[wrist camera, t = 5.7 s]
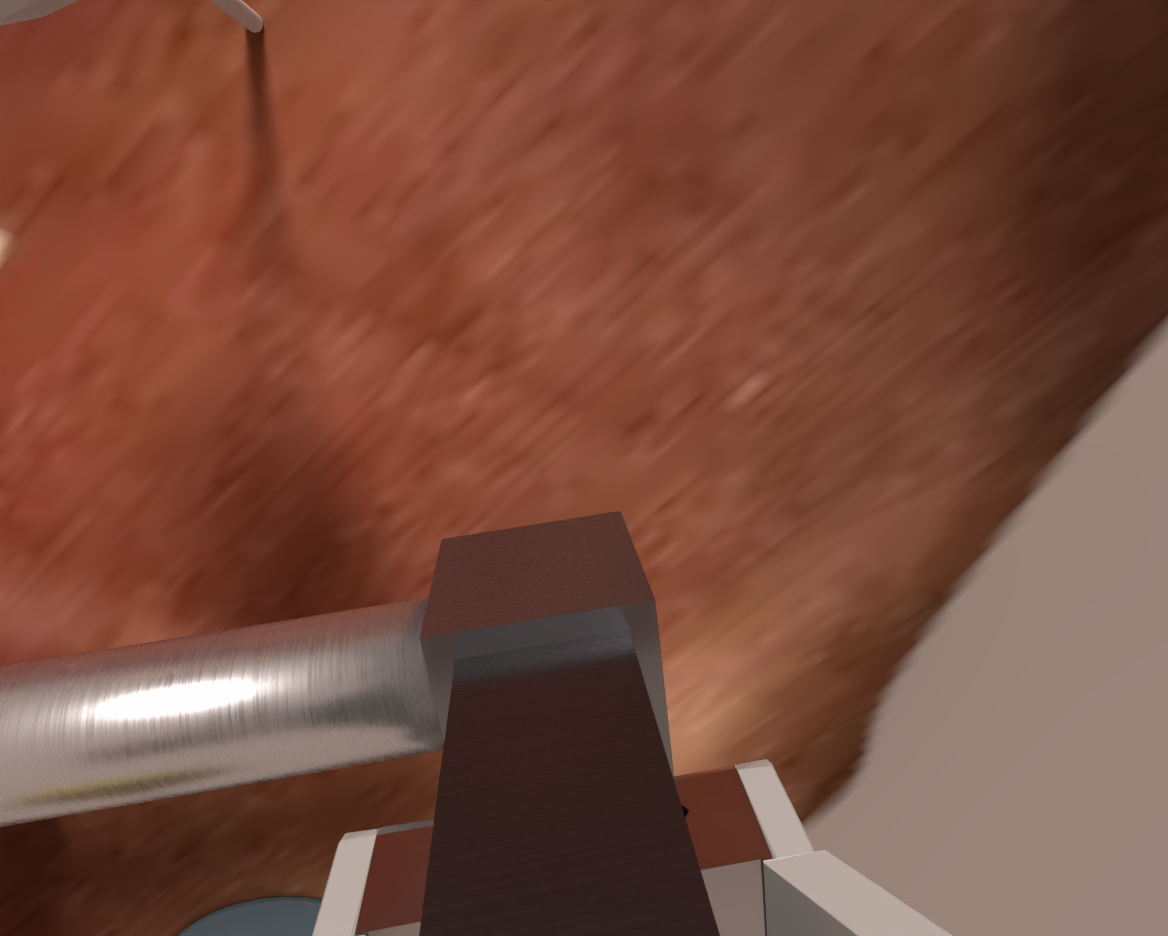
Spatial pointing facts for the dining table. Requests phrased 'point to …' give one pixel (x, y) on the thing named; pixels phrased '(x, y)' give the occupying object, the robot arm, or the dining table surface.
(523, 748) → the hammer
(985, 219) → the dining table surface
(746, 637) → the dining table surface
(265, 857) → the dining table surface
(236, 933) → the cocktail glass
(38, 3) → the lollipop
